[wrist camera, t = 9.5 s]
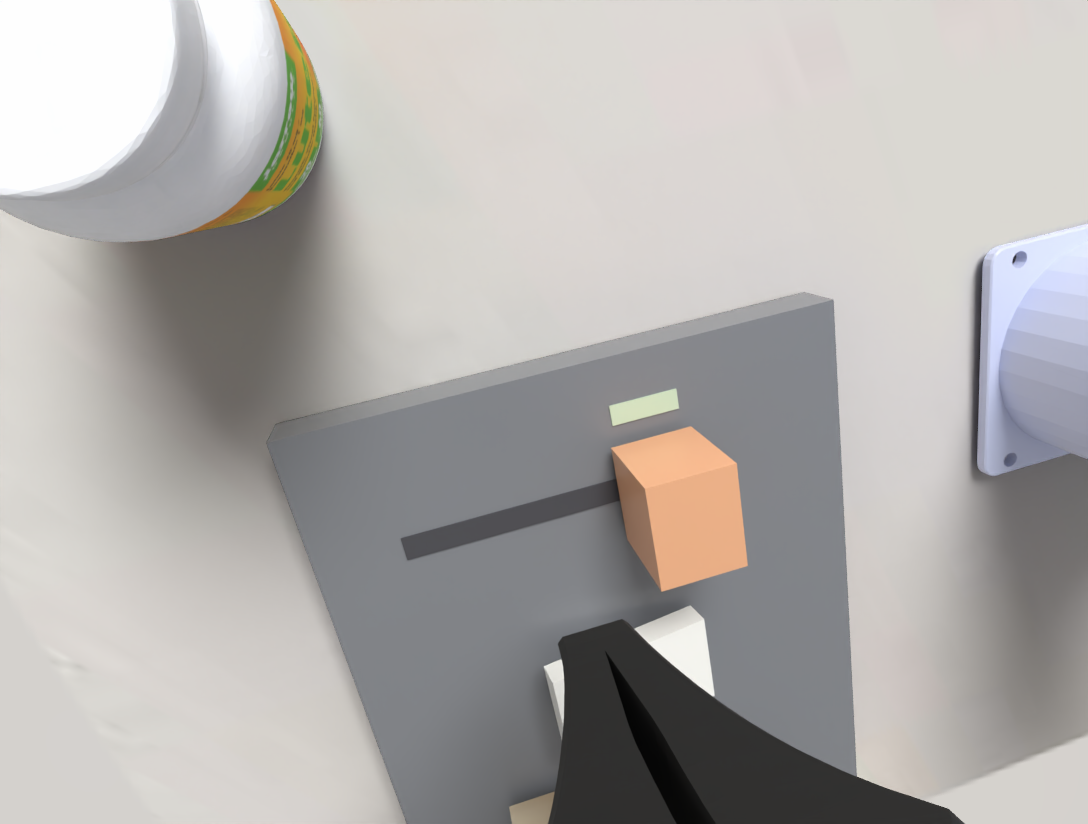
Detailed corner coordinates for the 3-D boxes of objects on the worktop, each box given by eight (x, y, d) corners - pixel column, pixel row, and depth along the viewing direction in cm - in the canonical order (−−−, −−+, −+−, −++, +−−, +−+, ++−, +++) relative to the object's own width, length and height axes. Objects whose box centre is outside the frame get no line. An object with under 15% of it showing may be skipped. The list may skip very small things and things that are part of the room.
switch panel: (803, 292, 21) (841, 301, 19) (833, 755, 27) (863, 794, 26) (275, 424, 19) (263, 448, 17) (444, 890, 25) (447, 942, 24)
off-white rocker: (690, 605, 21) (704, 619, 21) (701, 679, 23) (714, 695, 22) (543, 666, 20) (553, 683, 19) (562, 742, 21) (571, 761, 21)
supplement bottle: (339, 218, 18) (280, 251, 9) (111, 229, 17) (-228, 278, 8) (309, -22, 16) (194, -298, 7) (52, -26, 15) (-475, -354, 6)
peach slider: (691, 426, 19) (736, 463, 17) (702, 517, 20) (747, 565, 18) (611, 448, 19) (644, 488, 17) (627, 539, 20) (661, 591, 18)
